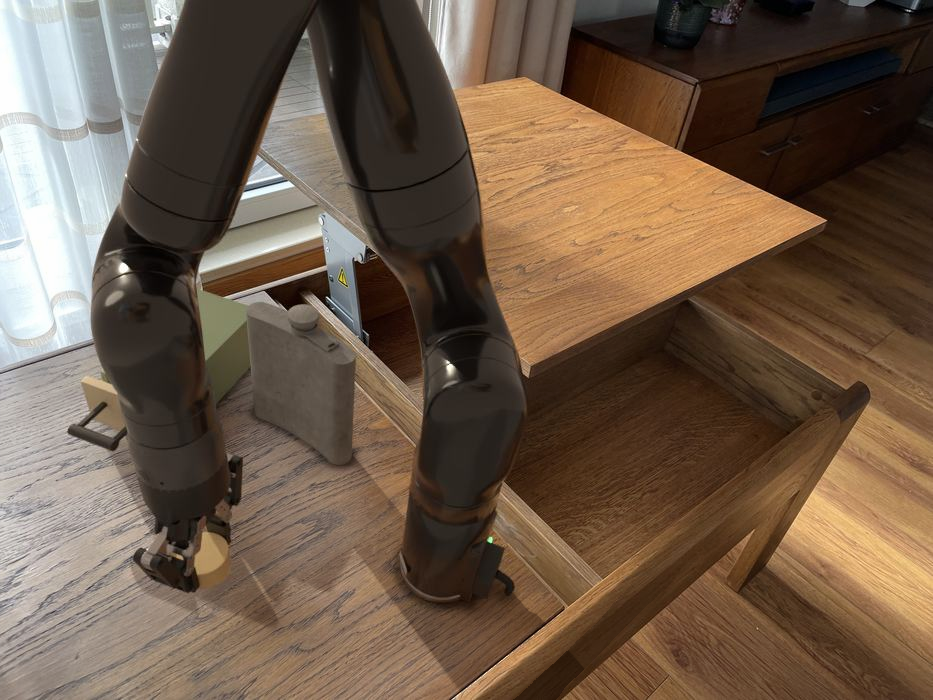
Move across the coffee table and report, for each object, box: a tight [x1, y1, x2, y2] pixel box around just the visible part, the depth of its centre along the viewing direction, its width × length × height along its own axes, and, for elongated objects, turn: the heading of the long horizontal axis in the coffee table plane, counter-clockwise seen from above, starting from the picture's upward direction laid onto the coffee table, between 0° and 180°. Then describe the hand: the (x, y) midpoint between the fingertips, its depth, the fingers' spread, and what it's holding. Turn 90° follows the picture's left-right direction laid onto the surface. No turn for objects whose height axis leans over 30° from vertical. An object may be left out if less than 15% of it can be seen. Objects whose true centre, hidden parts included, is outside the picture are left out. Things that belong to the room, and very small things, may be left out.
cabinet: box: [197, 288, 251, 405], centre depth 99 cm, size 14×12×9 cm
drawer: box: [66, 369, 127, 452], centre depth 91 cm, size 18×11×7 cm, turn 161°
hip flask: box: [246, 301, 357, 466], centre depth 89 cm, size 16×4×20 cm, turn 58°
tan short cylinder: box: [176, 531, 232, 590], centre depth 72 cm, size 5×5×3 cm
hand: (205, 563), depth 73 cm, fingers closed on tan short cylinder, 5 cm apart
